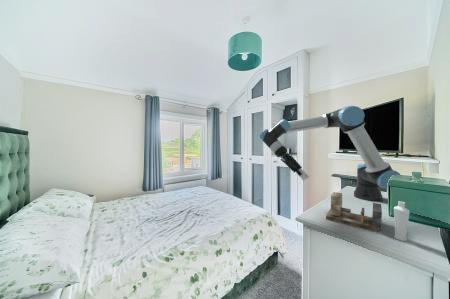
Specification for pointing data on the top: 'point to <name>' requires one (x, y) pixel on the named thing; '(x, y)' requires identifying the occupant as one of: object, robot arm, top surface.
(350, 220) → the base
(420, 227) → the top surface
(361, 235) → the top surface
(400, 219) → the perfume bottle
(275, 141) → the robot arm
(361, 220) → the peak needle
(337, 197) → the gauge plunger
